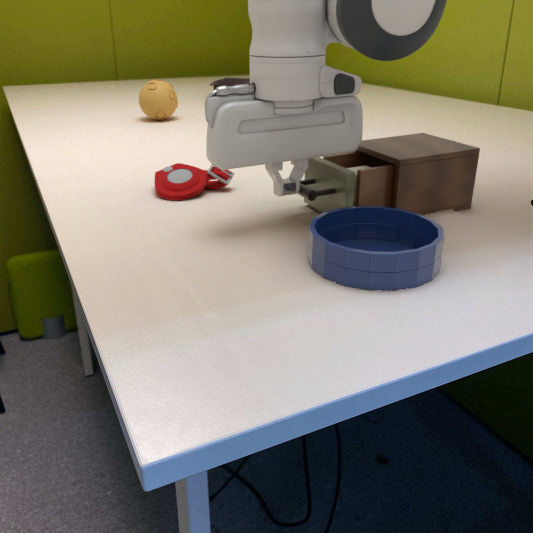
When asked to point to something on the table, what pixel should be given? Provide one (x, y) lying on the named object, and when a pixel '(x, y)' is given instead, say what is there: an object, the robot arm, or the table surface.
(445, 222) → the table surface
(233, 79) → the diary
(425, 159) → the cabinet
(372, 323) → the table surface
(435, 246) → the bowl
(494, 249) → the table surface
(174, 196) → the tracker holder
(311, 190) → the drawer
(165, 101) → the stress ball
